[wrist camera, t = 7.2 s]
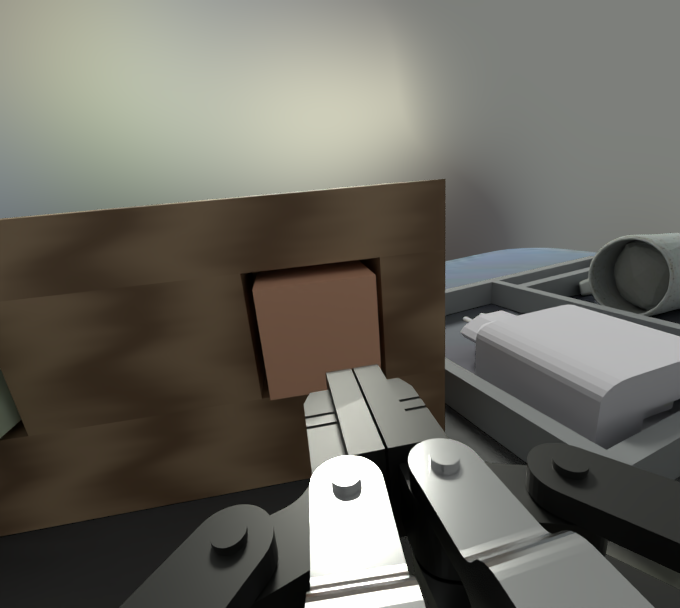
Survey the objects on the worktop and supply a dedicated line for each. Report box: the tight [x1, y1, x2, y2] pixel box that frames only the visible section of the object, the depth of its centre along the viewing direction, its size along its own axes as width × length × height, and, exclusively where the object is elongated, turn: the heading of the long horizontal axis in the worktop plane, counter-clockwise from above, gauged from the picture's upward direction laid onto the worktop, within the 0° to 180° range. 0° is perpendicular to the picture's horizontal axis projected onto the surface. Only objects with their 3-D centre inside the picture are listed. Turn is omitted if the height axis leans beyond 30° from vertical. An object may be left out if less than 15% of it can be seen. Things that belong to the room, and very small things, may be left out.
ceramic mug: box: [579, 233, 680, 316], centre depth 36 cm, size 11×8×8 cm
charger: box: [460, 305, 680, 450], centre depth 25 cm, size 5×9×15 cm
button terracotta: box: [252, 260, 381, 400], centre depth 18 cm, size 5×5×5 cm
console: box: [0, 179, 445, 536], centre depth 20 cm, size 28×8×14 cm, turn 99°
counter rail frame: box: [445, 256, 680, 480], centre depth 32 cm, size 35×24×2 cm
